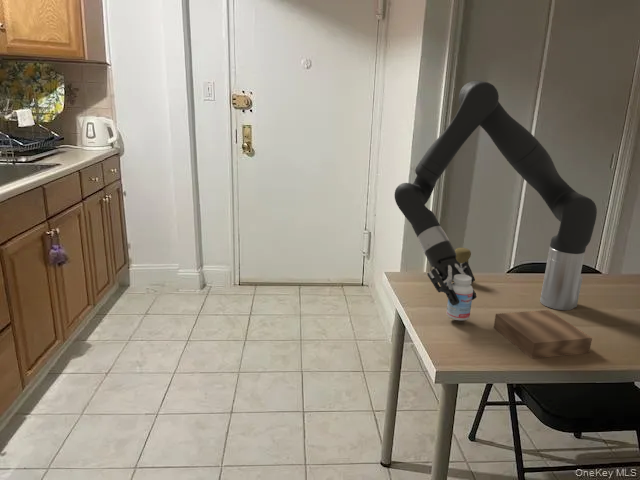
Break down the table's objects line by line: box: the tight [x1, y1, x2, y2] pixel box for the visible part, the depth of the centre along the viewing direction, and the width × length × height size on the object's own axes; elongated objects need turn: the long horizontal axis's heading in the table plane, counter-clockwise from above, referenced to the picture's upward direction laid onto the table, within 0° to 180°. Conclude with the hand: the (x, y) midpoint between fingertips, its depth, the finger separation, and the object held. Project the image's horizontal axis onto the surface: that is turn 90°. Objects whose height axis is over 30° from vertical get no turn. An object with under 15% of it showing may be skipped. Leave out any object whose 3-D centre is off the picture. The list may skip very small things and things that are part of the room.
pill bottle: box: [446, 274, 474, 321], centre depth 135 cm, size 6×6×11 cm
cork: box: [452, 247, 472, 283], centre depth 165 cm, size 6×6×11 cm
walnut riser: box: [493, 309, 593, 359], centre depth 128 cm, size 16×16×4 cm
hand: (465, 301), depth 134 cm, fingers closed on pill bottle, 6 cm apart
